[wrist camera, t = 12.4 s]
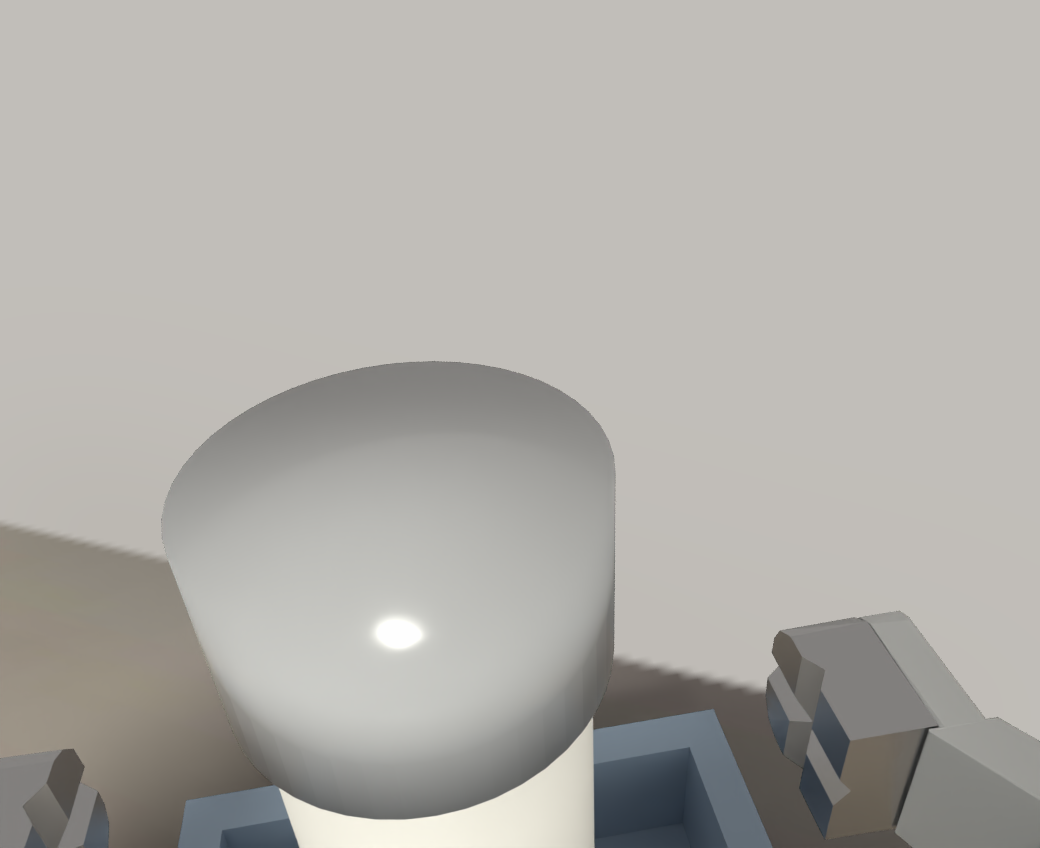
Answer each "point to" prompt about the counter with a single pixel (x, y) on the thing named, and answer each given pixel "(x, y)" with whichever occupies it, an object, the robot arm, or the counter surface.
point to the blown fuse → (408, 602)
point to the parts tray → (617, 795)
